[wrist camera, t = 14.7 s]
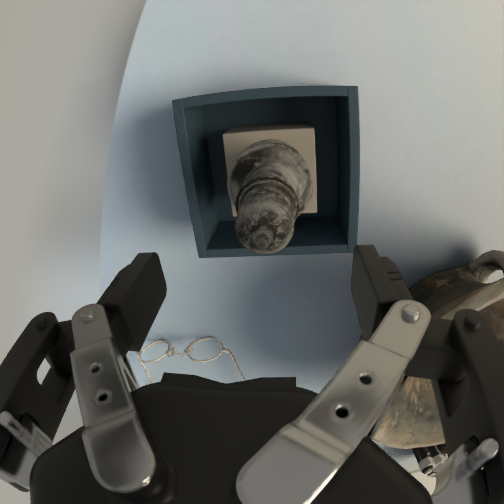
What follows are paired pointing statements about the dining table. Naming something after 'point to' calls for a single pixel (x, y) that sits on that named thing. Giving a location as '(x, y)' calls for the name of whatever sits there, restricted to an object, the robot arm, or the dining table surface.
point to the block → (290, 133)
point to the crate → (267, 112)
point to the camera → (430, 458)
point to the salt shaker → (268, 194)
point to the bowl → (445, 306)
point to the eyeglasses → (186, 351)
